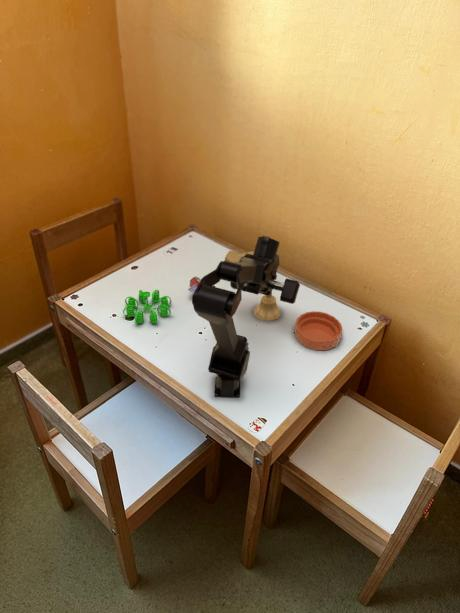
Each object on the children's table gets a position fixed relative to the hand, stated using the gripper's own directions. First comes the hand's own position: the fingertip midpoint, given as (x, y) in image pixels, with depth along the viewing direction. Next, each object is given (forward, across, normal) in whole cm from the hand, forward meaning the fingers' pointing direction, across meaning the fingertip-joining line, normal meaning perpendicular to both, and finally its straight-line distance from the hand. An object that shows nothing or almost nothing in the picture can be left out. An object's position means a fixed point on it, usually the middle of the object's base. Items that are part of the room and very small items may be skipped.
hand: (269, 290), depth 139 cm
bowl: (+4, -17, +9) cm, 19 cm away
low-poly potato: (+18, +14, -5) cm, 23 cm away
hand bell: (+7, 0, +6) cm, 9 cm away
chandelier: (-3, +33, +16) cm, 37 cm away
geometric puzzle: (+6, +22, +7) cm, 24 cm away
